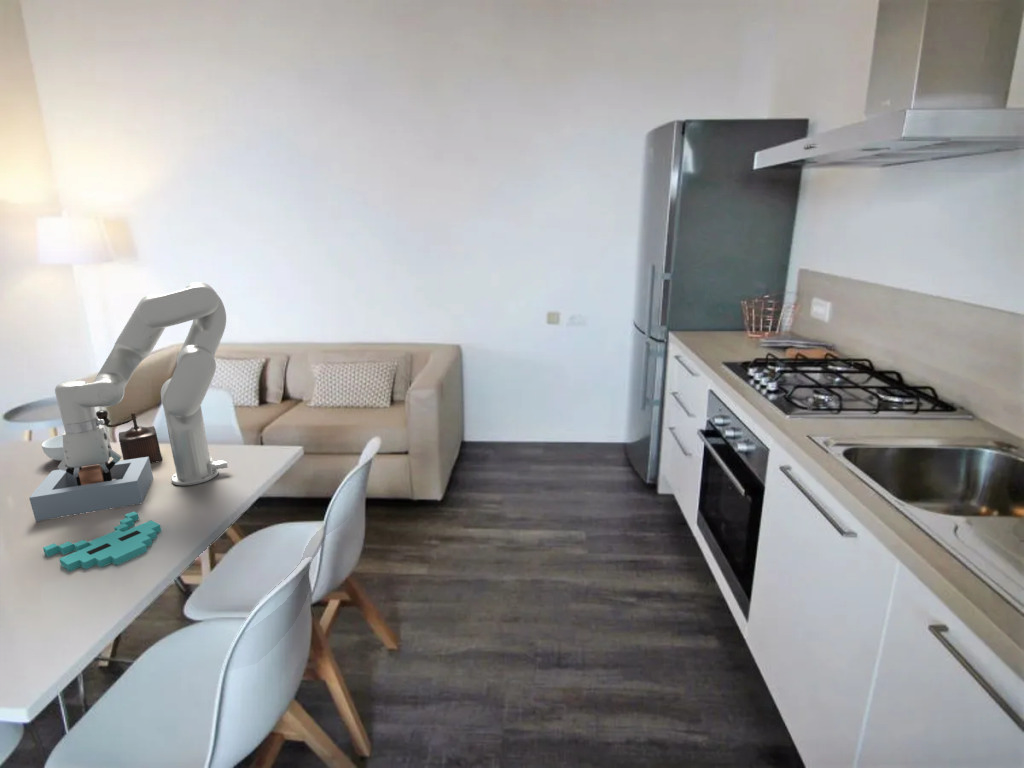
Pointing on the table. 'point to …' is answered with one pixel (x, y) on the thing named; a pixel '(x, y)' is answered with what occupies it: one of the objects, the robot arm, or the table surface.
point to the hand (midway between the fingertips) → (95, 485)
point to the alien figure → (108, 545)
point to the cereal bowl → (54, 447)
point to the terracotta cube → (91, 474)
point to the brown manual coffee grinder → (135, 439)
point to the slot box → (92, 491)
